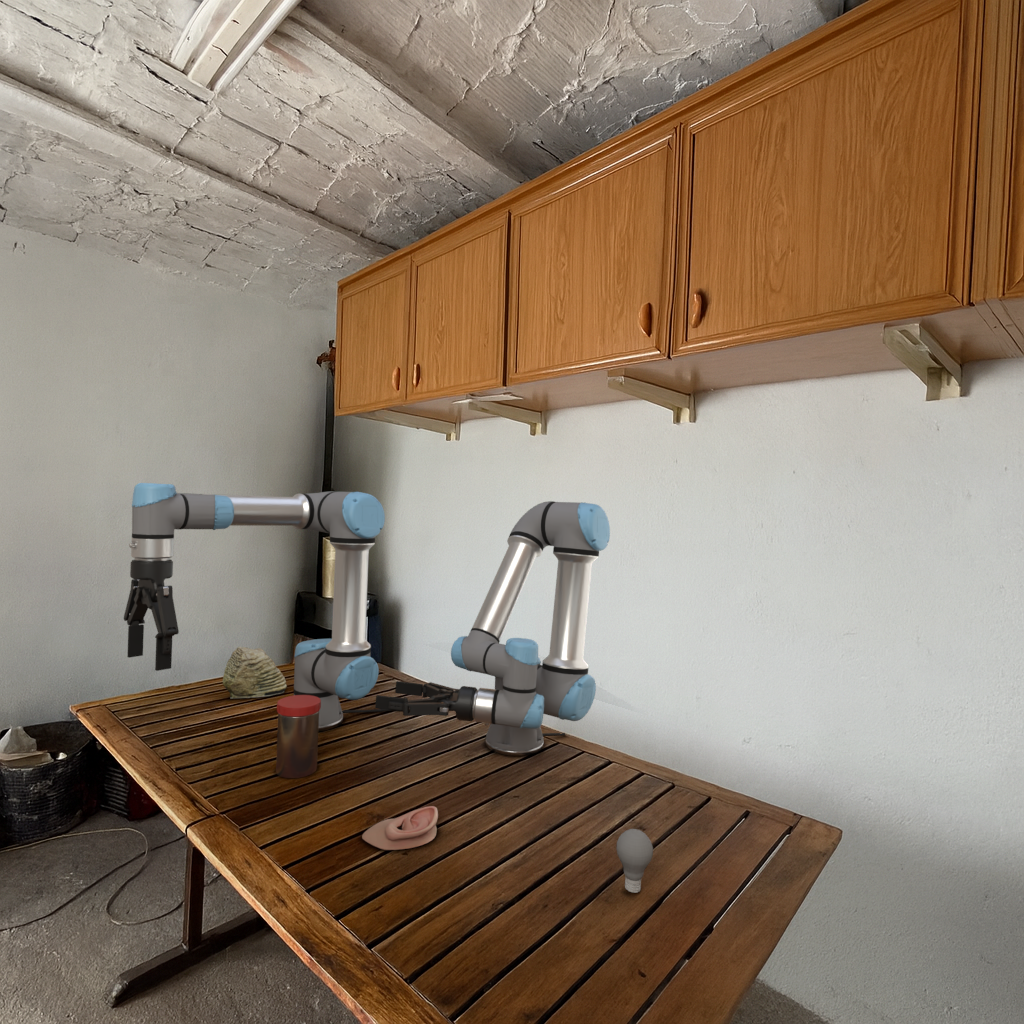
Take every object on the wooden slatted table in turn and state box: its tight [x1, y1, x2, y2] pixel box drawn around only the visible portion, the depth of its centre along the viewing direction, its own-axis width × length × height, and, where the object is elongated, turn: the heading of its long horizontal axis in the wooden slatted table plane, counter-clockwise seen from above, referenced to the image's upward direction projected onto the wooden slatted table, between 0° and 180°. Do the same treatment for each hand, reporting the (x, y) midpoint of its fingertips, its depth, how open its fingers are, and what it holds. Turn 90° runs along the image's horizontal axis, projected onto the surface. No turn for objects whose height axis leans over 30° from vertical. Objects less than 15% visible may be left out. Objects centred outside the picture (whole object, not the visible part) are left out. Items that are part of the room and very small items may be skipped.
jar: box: [275, 711, 319, 779], centre depth 146 cm, size 9×9×16 cm
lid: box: [276, 694, 321, 717], centre depth 146 cm, size 10×10×2 cm
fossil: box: [222, 646, 288, 699], centre depth 198 cm, size 9×18×15 cm, turn 132°
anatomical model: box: [361, 805, 439, 851], centre depth 120 cm, size 13×4×12 cm
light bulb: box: [615, 828, 654, 894], centre depth 106 cm, size 6×6×10 cm
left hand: (148, 662), depth 129 cm, fingers open, 13 cm apart
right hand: (386, 694), depth 147 cm, fingers open, 13 cm apart
